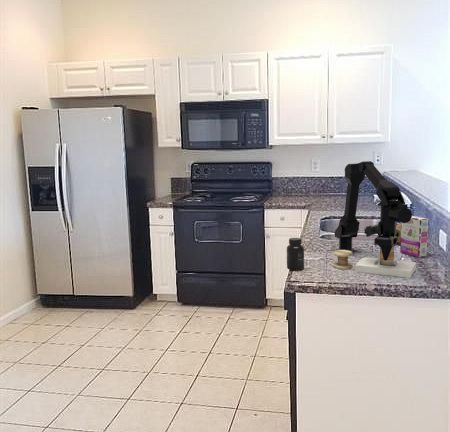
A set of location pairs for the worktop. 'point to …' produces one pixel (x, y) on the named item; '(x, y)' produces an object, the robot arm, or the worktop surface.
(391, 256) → the copper spool
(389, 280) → the worktop surface
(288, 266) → the supplement bottle
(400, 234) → the natural sponge
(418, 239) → the candy bar box
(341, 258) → the bobbin
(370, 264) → the notched board
